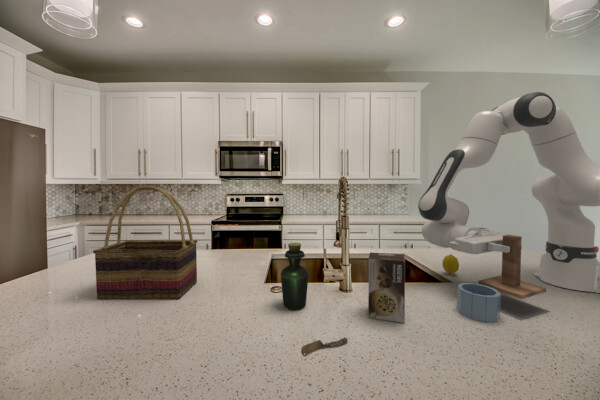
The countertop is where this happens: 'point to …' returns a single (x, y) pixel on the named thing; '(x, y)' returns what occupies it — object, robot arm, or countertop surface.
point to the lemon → (450, 264)
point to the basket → (146, 262)
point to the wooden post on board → (512, 273)
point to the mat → (519, 308)
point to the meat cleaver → (321, 346)
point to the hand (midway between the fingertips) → (515, 248)
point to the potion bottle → (294, 279)
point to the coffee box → (386, 287)
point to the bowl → (478, 302)
